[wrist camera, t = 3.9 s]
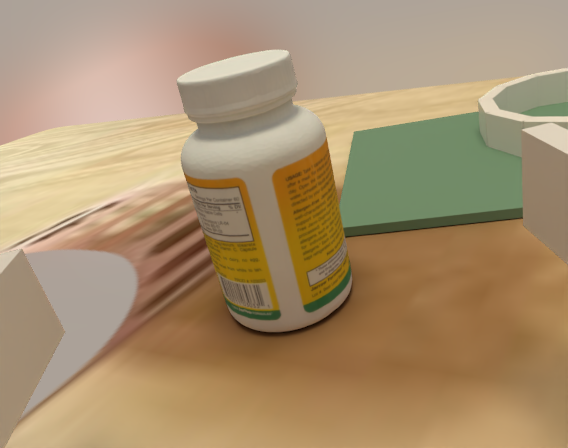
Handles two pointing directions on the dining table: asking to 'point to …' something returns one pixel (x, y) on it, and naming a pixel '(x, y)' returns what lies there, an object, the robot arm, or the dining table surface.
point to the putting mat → (431, 176)
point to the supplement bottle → (264, 192)
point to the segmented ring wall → (520, 108)
